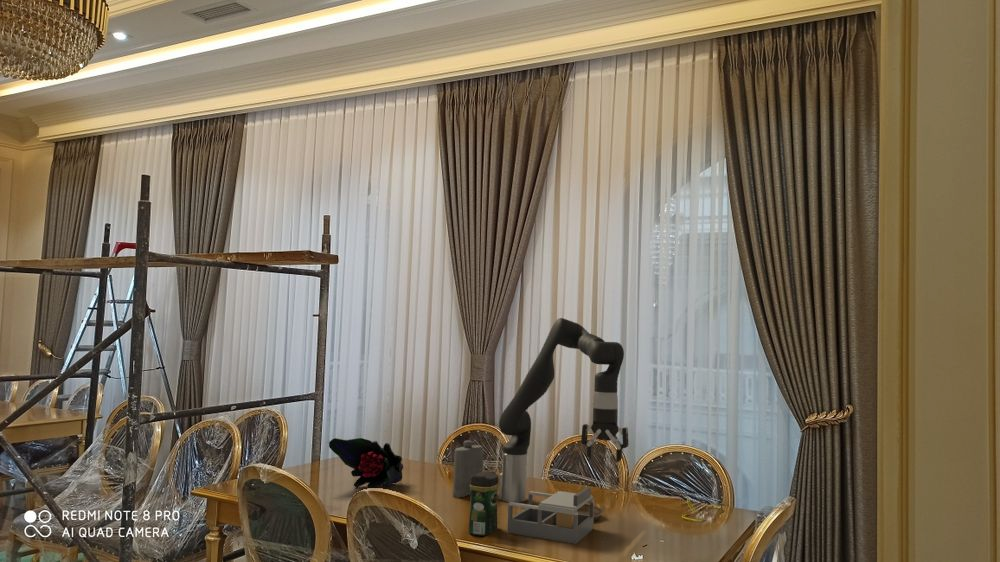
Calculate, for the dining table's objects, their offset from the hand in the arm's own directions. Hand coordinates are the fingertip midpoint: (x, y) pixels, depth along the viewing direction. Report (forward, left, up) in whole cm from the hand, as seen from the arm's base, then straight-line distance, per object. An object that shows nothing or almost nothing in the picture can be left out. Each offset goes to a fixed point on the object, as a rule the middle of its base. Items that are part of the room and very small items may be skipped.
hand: (604, 460), depth 212 cm
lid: (-12, 0, -15) cm, 19 cm away
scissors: (+22, +51, -25) cm, 61 cm away
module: (-11, 0, -23) cm, 26 cm away
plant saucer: (-16, +22, -25) cm, 37 cm away
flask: (-62, +33, -25) cm, 74 cm away
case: (-16, 0, -24) cm, 29 cm away
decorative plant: (-97, +21, -25) cm, 102 cm away
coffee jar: (-35, -10, -25) cm, 44 cm away
